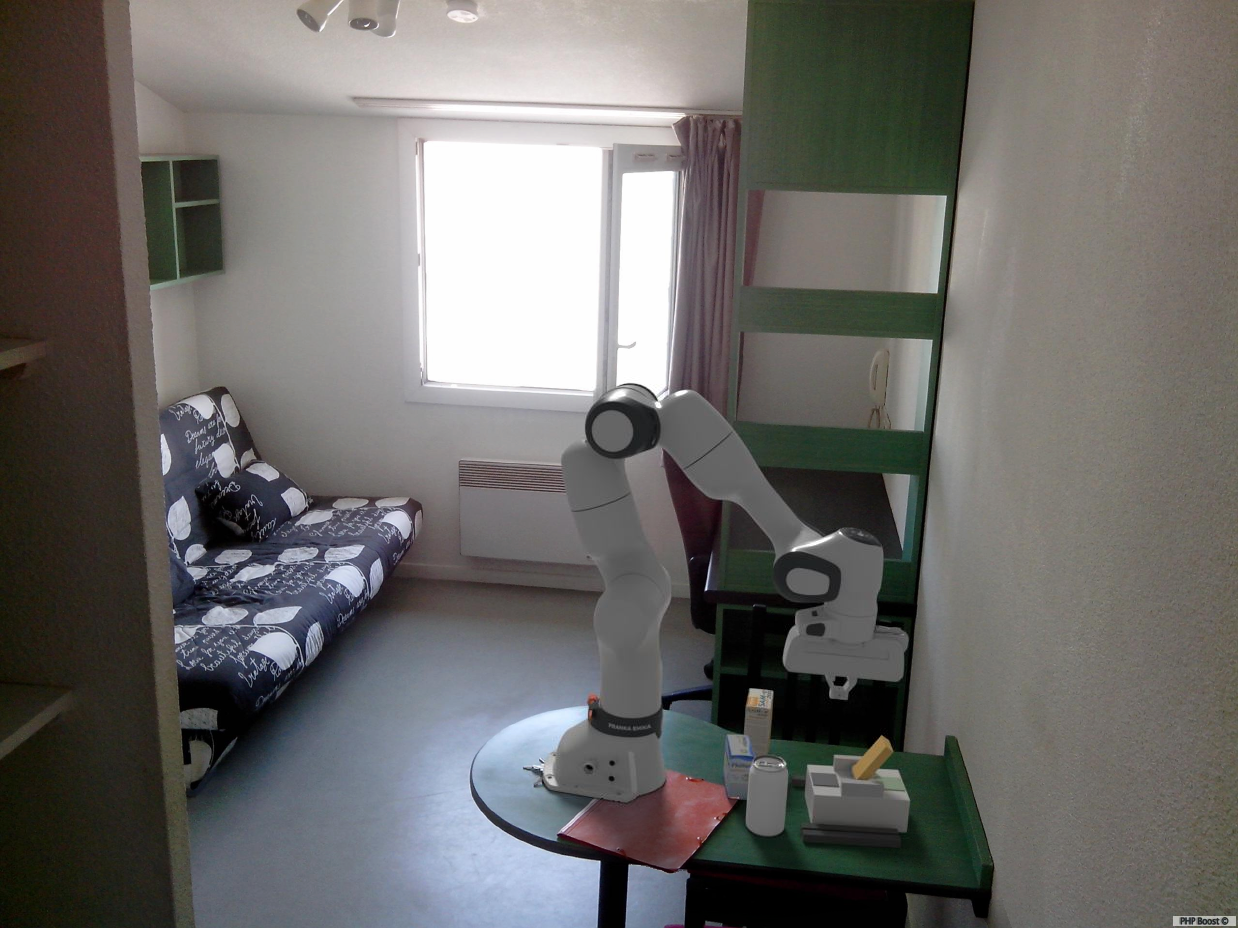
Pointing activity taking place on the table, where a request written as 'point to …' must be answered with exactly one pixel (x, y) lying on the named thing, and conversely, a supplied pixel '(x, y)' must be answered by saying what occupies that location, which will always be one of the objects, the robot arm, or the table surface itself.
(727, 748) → the medicine box
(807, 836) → the dark grey flat bar
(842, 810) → the white slotted housing
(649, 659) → the robot arm
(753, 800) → the can
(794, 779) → the dark grey long bar
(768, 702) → the supplement box
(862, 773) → the lever
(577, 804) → the table surface
